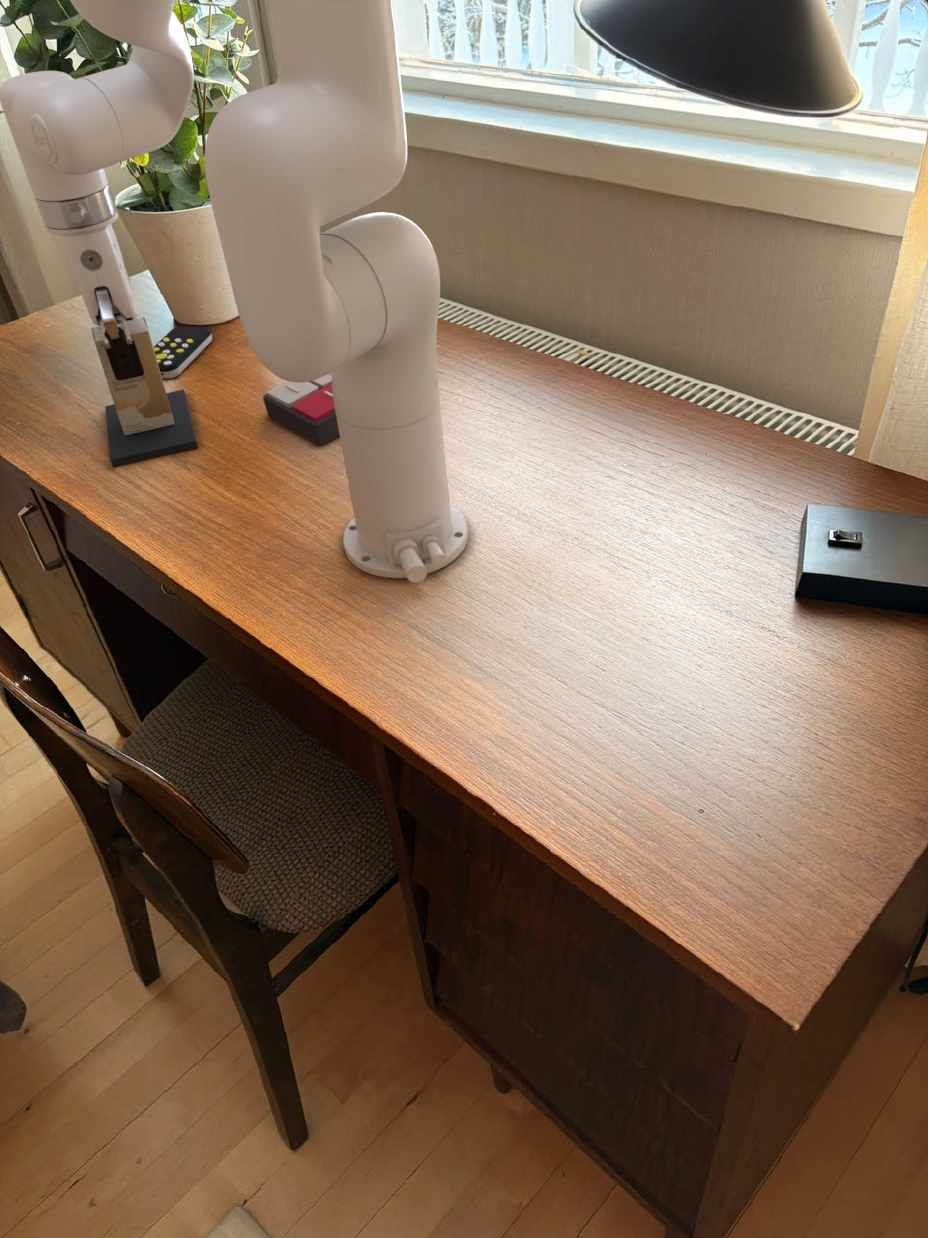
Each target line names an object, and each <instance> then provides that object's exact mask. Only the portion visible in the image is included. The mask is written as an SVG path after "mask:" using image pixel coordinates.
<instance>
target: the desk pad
mask: <svg viewBox="0 0 928 1238" xmlns="http://www.w3.org/2000/svg"><path fill="white" fill-rule="evenodd" d="M166 395H167V398H168V402H169V405H170V409H171V412H172V416H173V420H174V425H170V426H165V427H161V428H157V429H152V430H148V431H143V432H139V433H134V434H130V435H124V432H123V429H122V426H121V423H120V420H119V417H118V414H117V411H116V408H115V405H114V403H113V404H109V405H105V406H104V407H105V419H106V429H107V441H108V452H109V462H110V464H111V466H112V467H113V468H115V467H119V466H123V465H127V464H133V463H138V462H141V461H147V460H150V459H154V458H159V457H163V456H168V455H172V454H177V453H180V452H185V451H189V450H190V451H191V450H194V449H198V448H199V446H198V443H197V438H196V433H195V429H194V425H193V421H192V417H191V412H190V407H189V403H188V399H187V395H186V392H185V389H179V390H174V391H170V392H166Z"/></svg>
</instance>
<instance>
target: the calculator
mask: <svg viewBox="0 0 928 1238" xmlns="http://www.w3.org/2000/svg"><path fill="white" fill-rule="evenodd" d="M262 399H263V403H264V407H265V410H266V413H267V416H268V419H270V420H273V421H274V422H276V423H278V424H279V425H281V426H283V427H285V428H286V429H288V430H290V431H292V432H294V433H296V434H298V435H299V436H301V437H303V438H305V439H307V441H310V442H312V443H313V444H315V445H317V446H318V447H319V446H324V445H325V444H327V443H329V442H332V441H333V440H334V439H336V438H337V437H340V434H339V429H338V423H337V418H336V412H335V406H334V401H333V393H332V372H331V373H329V374H327V375H325V376H323V377H321V378H319V379H316V380H313V381H309V382H302V383H296V382H290V381H286V380H285V381H284V382H282V383H280V384H278V385H276V386H275V387H272V388H271V389H269V390H267V391H266V394H264V395H263V396H262Z"/></svg>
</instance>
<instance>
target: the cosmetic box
mask: <svg viewBox="0 0 928 1238" xmlns="http://www.w3.org/2000/svg"><path fill="white" fill-rule="evenodd" d="M126 323H127V326H128V330H129V333H130V337H131V341H133V340H134V341H135V345H136V348H137V351H138V354H139V357H140V360H141V363H142V366H143V369H144V375H143V376H140V377H135V378H130V379H125V380H121V381H118V380H116V378H115V376H114V373H113V370H112V367H111V364H110V361H109V358H108V355H107V353H106V350H105V346H106V345H105V342H104V338H103V335H102V331H101V328H100V326H94V327H91V328H90V330H91V334H92V339H93V341H94V345H95V347H96V352H97V355H98V357H99V361H100V364H101V367H102V370H103V373H104V376H105V379H106V383H107V386H108V389H109V392H110V396H111V399H112V401H113V404H114V405H115V408H116V411H117V414H118V417H119V420H120V423H121V426H122V429H123V432H124V435H130V434H134V433H139V432H143V431H148V430H152V429H157V428H161V427H165V426H170V425H174V420H173V416H172V412H171V409H170V405H169V402H168V398H167V395H166V393H167V392H166V388H165V385H164V381H163V378H162V377H161V373H160V370H159V366H158V363H157V359H156V355H155V352H154V348H153V347H154V346H153V341H152V338H151V334H150V331H149V327H148V324H147V321H146V318H145V317H139V318H135V319H133V320H129V321H126ZM117 325H118V327H121V328H122V325H121V324H117Z"/></svg>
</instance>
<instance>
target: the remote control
mask: <svg viewBox="0 0 928 1238" xmlns="http://www.w3.org/2000/svg"><path fill="white" fill-rule="evenodd" d="M212 341H213V335H212V332H211V329H209V328H207V327H205V326H177V327H174V328H172V329H171V330H170V331H169V332H168V333H167V334H166V335H165V336H163V337H162V338H161V339H160V340H159V341H158V342H157V343H156V344H154V346H153V348H154V352H155V355H156V359H157V363H158V366H159V370H160V373H161V377H162V379H167V380H169V379H174V378H176V377H178V376H179V375H180V374H181V373H183V371H185V370H186V368H187V367H188V366H189V365H190V364H191V363H192V362H193V361H194V360H195V359H196V358H197V357H198V356H199V355H200V354H201V353H202V352H203V351H204V350H205V349H206V348H207V346H209V345H210V343H211V342H212Z"/></svg>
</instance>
